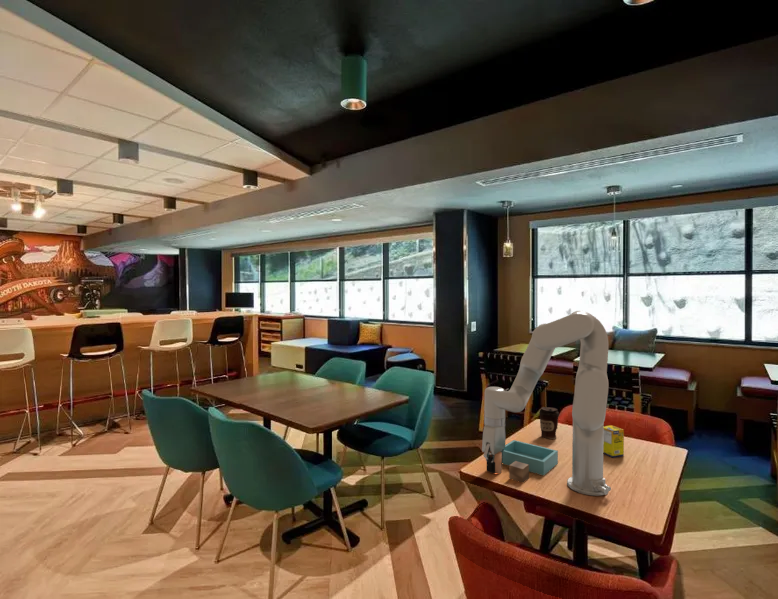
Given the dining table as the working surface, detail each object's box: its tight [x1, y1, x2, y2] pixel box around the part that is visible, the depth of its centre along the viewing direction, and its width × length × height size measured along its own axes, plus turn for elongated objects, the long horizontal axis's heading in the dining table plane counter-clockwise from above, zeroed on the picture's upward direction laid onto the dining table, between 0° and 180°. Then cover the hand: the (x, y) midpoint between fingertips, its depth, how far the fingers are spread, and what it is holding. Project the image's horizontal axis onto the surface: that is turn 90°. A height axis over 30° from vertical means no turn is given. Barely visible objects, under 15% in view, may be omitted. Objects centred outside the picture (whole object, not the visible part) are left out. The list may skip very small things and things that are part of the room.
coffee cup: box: [538, 406, 560, 440], centre depth 192 cm, size 9×8×13 cm
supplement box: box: [603, 424, 625, 459], centre depth 172 cm, size 6×6×11 cm
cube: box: [508, 461, 530, 483], centre depth 150 cm, size 5×5×5 cm
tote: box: [502, 439, 559, 476], centre depth 164 cm, size 18×14×5 cm
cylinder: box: [489, 451, 503, 474], centre depth 157 cm, size 5×5×7 cm
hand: (494, 469), depth 157 cm, fingers closed on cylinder, 4 cm apart
